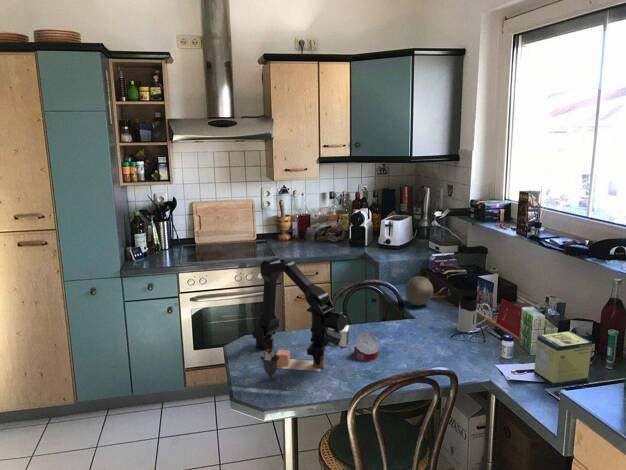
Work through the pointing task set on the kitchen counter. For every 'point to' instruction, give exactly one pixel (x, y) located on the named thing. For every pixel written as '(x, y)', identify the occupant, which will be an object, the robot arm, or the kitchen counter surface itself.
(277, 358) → the sundae
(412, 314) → the kitchen counter surface
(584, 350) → the protein box
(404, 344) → the kitchen counter surface
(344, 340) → the medicine bottle
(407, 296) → the cantaloupe
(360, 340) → the canned food
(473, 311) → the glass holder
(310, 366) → the strip
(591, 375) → the kitchen counter surface
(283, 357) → the block
